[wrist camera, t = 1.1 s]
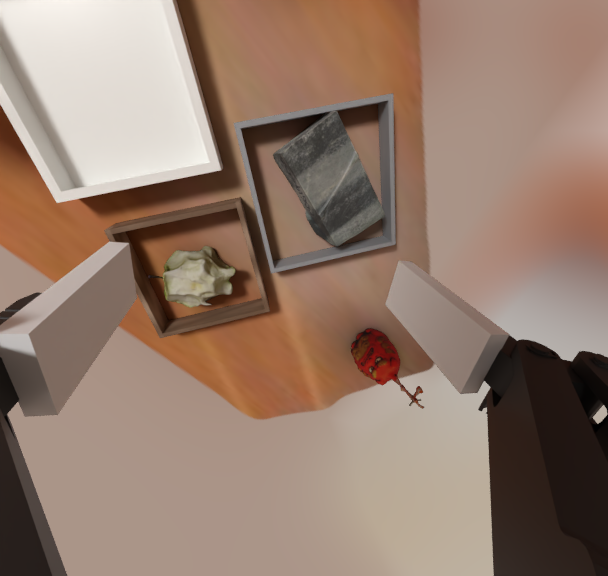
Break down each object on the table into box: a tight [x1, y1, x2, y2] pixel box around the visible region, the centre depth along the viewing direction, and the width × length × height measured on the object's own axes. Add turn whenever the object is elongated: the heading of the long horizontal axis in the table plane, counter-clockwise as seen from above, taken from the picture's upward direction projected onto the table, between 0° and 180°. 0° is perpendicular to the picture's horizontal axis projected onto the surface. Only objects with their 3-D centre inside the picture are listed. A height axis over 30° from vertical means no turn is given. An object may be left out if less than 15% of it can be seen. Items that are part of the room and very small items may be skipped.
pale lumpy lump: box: [148, 246, 235, 307], centre depth 39 cm, size 9×9×8 cm
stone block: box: [273, 111, 385, 246], centre depth 37 cm, size 9×14×5 cm, turn 32°
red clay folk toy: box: [351, 328, 424, 408], centre depth 47 cm, size 8×7×15 cm
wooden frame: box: [104, 197, 270, 338], centre depth 39 cm, size 16×16×4 cm
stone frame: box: [234, 93, 396, 273], centre depth 38 cm, size 19×19×3 cm
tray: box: [0, 0, 224, 203], centre depth 29 cm, size 20×18×4 cm
